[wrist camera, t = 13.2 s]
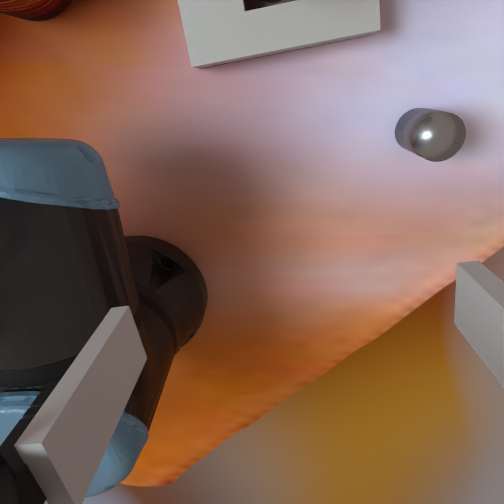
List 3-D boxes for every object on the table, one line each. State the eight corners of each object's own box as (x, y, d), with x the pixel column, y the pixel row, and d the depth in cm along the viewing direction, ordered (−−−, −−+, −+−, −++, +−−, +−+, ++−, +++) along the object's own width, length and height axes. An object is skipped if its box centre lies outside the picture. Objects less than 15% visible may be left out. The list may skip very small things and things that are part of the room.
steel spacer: (395, 153, 39) (416, 165, 33) (394, 112, 37) (416, 117, 31) (436, 146, 38) (464, 157, 33) (437, 104, 36) (466, 108, 31)
